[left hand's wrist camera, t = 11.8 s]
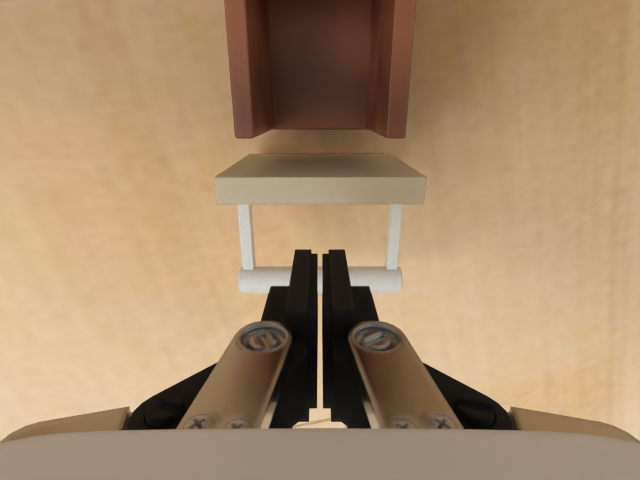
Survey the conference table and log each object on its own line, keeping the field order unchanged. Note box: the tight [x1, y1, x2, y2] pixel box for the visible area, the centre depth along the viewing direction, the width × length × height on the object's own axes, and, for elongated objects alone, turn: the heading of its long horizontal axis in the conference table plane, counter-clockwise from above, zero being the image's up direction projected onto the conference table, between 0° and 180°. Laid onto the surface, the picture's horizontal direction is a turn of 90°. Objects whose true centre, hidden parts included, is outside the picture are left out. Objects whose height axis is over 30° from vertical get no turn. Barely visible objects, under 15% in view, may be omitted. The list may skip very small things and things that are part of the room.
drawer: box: [214, 0, 426, 293], centre depth 17 cm, size 24×9×8 cm, turn 0°
